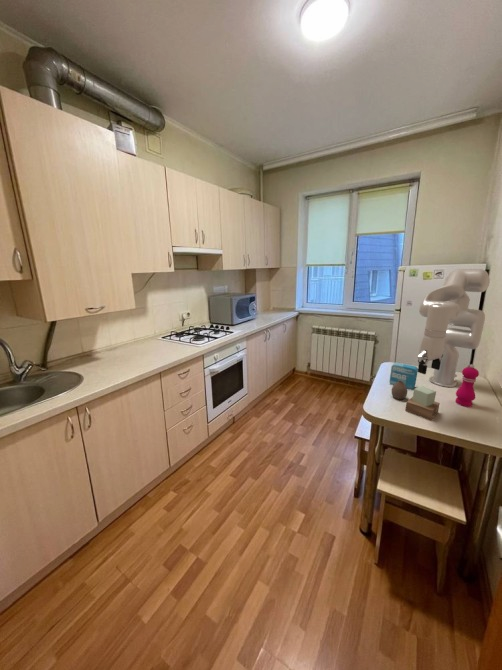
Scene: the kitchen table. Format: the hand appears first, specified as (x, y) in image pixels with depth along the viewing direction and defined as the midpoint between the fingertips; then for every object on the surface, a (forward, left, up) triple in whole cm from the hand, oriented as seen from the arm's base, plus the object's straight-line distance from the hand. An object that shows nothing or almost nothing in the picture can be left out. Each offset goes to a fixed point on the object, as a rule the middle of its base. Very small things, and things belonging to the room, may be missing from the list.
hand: (428, 370), depth 115 cm
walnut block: (+1, 0, -20) cm, 20 cm away
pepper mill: (-25, +5, -20) cm, 32 cm away
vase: (-2, -13, -20) cm, 24 cm away
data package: (-17, -21, -20) cm, 33 cm away
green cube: (0, 0, -15) cm, 15 cm away
